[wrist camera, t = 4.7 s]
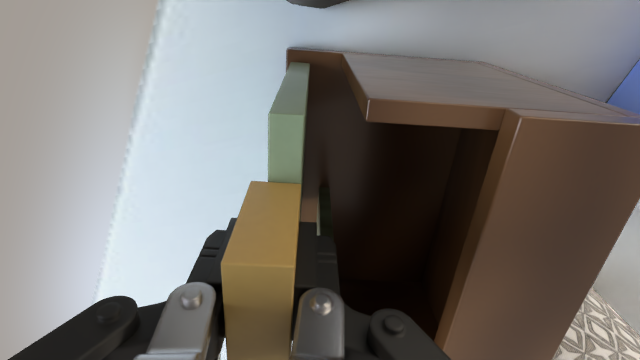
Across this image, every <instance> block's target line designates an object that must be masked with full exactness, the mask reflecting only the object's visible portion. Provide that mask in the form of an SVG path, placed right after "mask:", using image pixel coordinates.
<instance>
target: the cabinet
mask: <svg viewBox="0 0 640 360" xmlns="http://www.w3.org/2000/svg"><path fill="white" fill-rule="evenodd" d="M291 62H298V63H309V64H310V70H309V88H308V106H307V123H306V141H305V159H304V176H303V194H302V210H301V222H317V235H321V236H330V237H331V239H332V240H333V241H334V243H335V244H336V253H337V264H338V275H339V287H340V295H341V298H342V299H343V301H344V302H345V304H346V305H348V306H349V307H350V308H351V309H353V310H355V311H357V312H360V313H363V314H366V315H369V316H372V315H373V314H374V313H375V312H376V311H378V310H381V309H388V308H389V309H395V310H399V311H401V312H403V313H405V314H406V315H408V316H409V317H410V318H411V319H412V320H413V321H414V322H415V323H416V324H417V325H418V326H419V327H420V328H421V329H422V330H423V331H424V332H425V333H426V334H427V335H428V336H429V337H430V338H431V339H432V340H433V341H434V342H435V343H436V344H437V345H438V346H439V347H440V348H441V349H442V350H443V351H444V352H445V353H446V354H447V355H448V357H449V358H450V359H451V360H552V359H553V357H554V355H555V353H556V351H557V349H558V348H559V346H560V344H561V342H562V340H563V338H564V337H565V335H566V333H567V331H568V329H569V327H570V325H571V324H572V322H573V320H574V318H575V316H576V314H577V313H578V311H579V309H580V307H581V305H582V303H583V302H584V300H585V298H586V296H587V294H588V292H589V291H590V289H591V287H592V285H593V283H594V281H595V280H596V278H597V276H598V274H599V272H600V270H601V268H602V267H603V265H604V263H605V261H606V259H607V257H608V256H609V254H610V252H611V250H612V248H613V246H614V245H615V243H616V241H617V239H618V237H619V235H620V234H621V232H622V230H623V228H624V226H625V224H626V223H627V221H628V219H629V217H630V215H631V213H632V211H633V210H634V208H635V206H636V204H637V202H638V200H639V199H640V114H637V113H634V112H631V111H628V110H625V109H622V108H619V107H616V106H613V105H610V104H607V103H604V102H601V101H598V100H595V99H592V98H589V97H586V96H583V95H580V94H577V93H574V92H571V91H568V90H565V89H562V88H559V87H556V86H553V85H550V84H547V83H544V82H541V81H538V80H535V79H532V78H529V77H526V76H523V75H520V74H517V73H514V72H511V71H508V70H505V69H502V68H499V67H496V66H493V65H490V64H487V63H484V62H475V61H462V60H449V59H435V58H422V57H408V56H395V55H382V54H368V53H355V52H342V51H328V50H315V49H301V48H287V54H286V72H287V70H288V68H289V66H290V63H291Z"/></svg>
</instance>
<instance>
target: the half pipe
mask: <svg viewBox="0 0 640 360" xmlns="http://www.w3.org/2000/svg"><path fill="white" fill-rule="evenodd" d="M607 104H610V105H613V106H616V107H619V108H622V109H625V110H628V111H631V112H634V113H637V114H640V60H639V61H638V62H637V63H636V65H635V66H634V67H633V69H632V70H631V71H630V73H629V74H628V75H627V77H626V78H625V79H624V81H623V82H622V83H621V85H620V86H619V87H618V89H617V90H616V91H615V92H614V94H613V95H612V96H611V98H610V99H609V100H608V102H607Z"/></svg>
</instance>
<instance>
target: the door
mask: <svg viewBox="0 0 640 360" xmlns="http://www.w3.org/2000/svg"><path fill="white" fill-rule="evenodd" d="M309 70H310V64H309V63H298V62H291V63H290V66H289V68H288V70H287V72H286V75H285V77H284V79H283V82H282V84H281V86H280V89H279V91H278V93H277V95H276V98H275V100H274V102H273V105H272V107H271V109H270V112H269V114H268V182H259V181H251V183H250V185H249V188H248V191H247V193H246V196H245V199H244V202H243V204H242V207H241V210H240V213H239V215H238V218H237V221H236V223H235V226H234V229H233V232H232V234H231V237H230V240H229V242H228V245H227V248H226V251H225V253H224V256H223V259H222V261H221V275H222V290H223V305H224V319H225V334H226V349H227V360H289V356H291V347H292V341H291V339H292V320H293V300H294V283H295V269H296V256H297V243H298V230H299V221H300V222H301V210H302V194H303V176H304V159H305V141H306V123H307V106H308V88H309Z"/></svg>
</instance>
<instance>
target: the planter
mask: <svg viewBox="0 0 640 360" xmlns="http://www.w3.org/2000/svg"><path fill="white" fill-rule="evenodd" d="M552 360H640V336H639V335H638V334H637V333H636V332H635V331H634V330H633V329H632V328H631V327H630V326H629V325H628V324H627V323H626V322H625V321H624V320H623V319H622V318H621V317H620V316H619V315H618V314H617V313H616V312H615V311H614V310H613V309H612V308H611V307H610V306H609V305H608V304H607V302H606V301H605V300H604V299H603V298H602V297H601V296H600V295H599V294H598V293H597V292H595V291H594V290H593V289H592V288H591V289H590V291H589V292H588V294H587V296H586V298H585V300H584V302H583V303H582V305H581V307H580V309H579V311H578V313H577V314H576V316H575V318H574V320H573V322H572V324H571V325H570V327H569V329H568V331H567V333H566V335H565V337H564V338H563V340H562V342H561V344H560V346H559V348H558V349H557V351H556V353H555V355H554V357H553V359H552Z"/></svg>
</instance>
